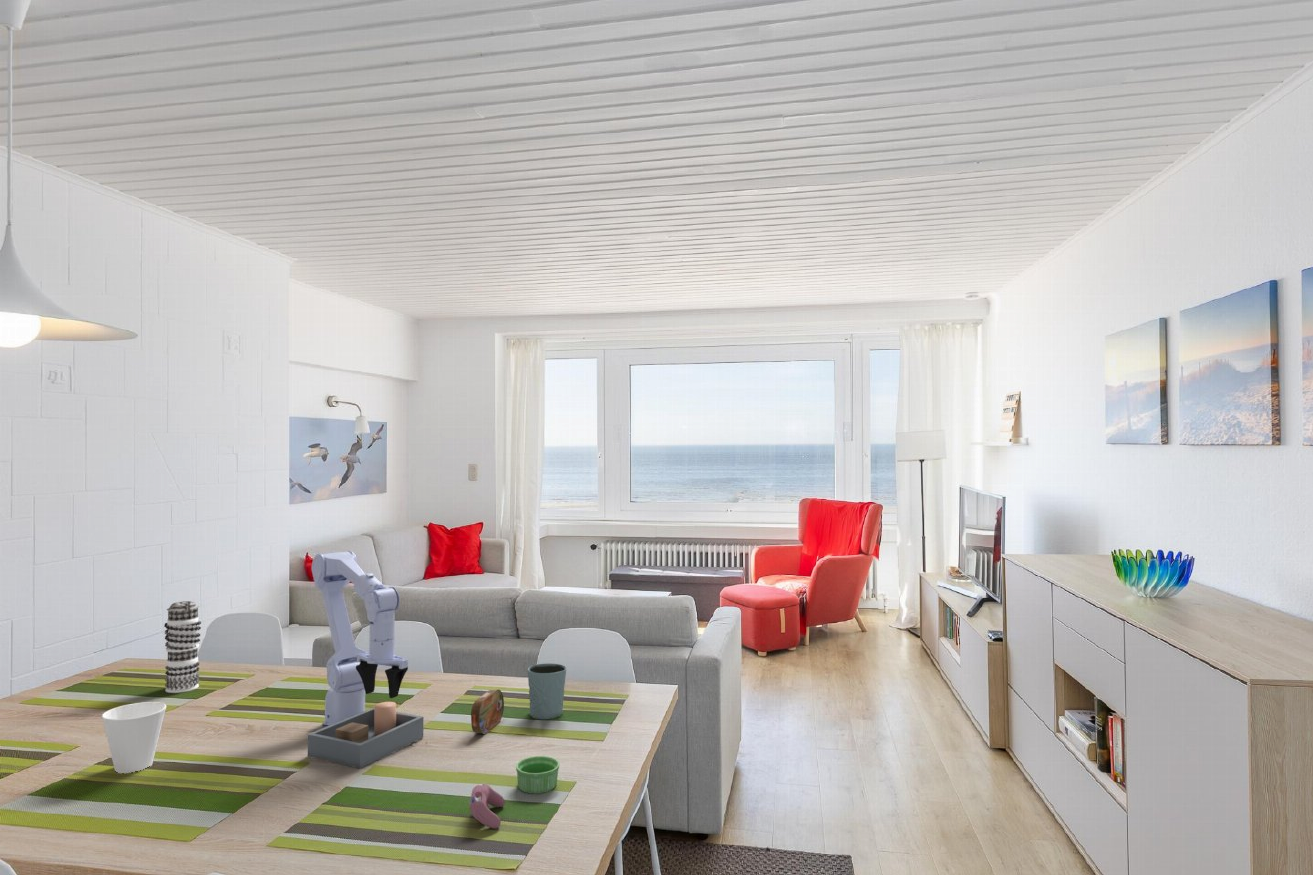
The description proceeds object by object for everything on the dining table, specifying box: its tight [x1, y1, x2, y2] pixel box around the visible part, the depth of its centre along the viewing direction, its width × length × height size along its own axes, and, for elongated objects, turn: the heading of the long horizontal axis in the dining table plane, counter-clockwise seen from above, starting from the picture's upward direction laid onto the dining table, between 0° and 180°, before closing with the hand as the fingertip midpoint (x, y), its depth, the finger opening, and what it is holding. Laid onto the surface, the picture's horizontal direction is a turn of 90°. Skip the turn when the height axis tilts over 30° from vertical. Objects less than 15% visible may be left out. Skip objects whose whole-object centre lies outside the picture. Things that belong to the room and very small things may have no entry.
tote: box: [307, 707, 424, 769], centre depth 180 cm, size 16×20×5 cm
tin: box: [470, 689, 505, 735], centre depth 193 cm, size 15×3×8 cm, turn 168°
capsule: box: [373, 701, 397, 736], centre depth 185 cm, size 5×5×7 cm
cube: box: [335, 722, 369, 743], centre depth 176 cm, size 5×5×5 cm
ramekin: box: [515, 755, 560, 794], centre depth 159 cm, size 9×9×4 cm
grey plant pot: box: [527, 662, 567, 720], centre depth 203 cm, size 10×10×12 cm
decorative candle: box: [163, 600, 202, 694], centre depth 225 cm, size 9×9×25 cm
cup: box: [101, 701, 167, 774], centre depth 169 cm, size 12×12×12 cm
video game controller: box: [468, 782, 506, 829], centre depth 145 cm, size 10×5×7 cm, turn 6°
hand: (381, 694), depth 186 cm, fingers open, 7 cm apart
